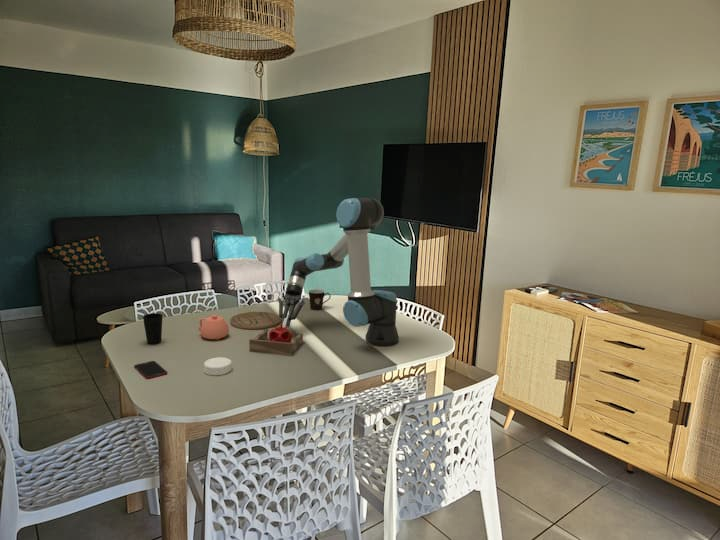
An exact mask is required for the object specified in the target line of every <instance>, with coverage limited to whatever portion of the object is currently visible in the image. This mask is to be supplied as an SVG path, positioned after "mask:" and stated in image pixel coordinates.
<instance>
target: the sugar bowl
mask: <svg viewBox="0 0 720 540" xmlns="http://www.w3.org/2000/svg"><path fill="white" fill-rule="evenodd" d="M198 321H199V322H198V323H199V327H198V329H197V330H198V331H199V332H200V335H201V336H202V337H203V338H204V339H205V340H215V341H218V340H221V339H223V338H225V337H227V335H228V334H229V332H230V329H229V325H228V323H227V321H226V320H225V319H224V317H223V316H218V314H212V315H211V316H208V317H202V318H200V319H199V320H198ZM202 321H204V322H202Z"/></svg>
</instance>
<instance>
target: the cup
mask: <svg viewBox="0 0 720 540" xmlns="http://www.w3.org/2000/svg"><path fill="white" fill-rule="evenodd" d="M142 319H143V324H144V325H143V326H144V331H145V337H146V343H147V345H152V346H154V345H159V344H161V343H162V332H163V314H162V313H157V312H155V313H154V312H152V313H147V314H145V315H142Z"/></svg>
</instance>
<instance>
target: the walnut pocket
mask: <svg viewBox="0 0 720 540" xmlns="http://www.w3.org/2000/svg"><path fill="white" fill-rule="evenodd" d="M303 336H304V335H303V333H300V332H299V333H298V334H297V335H296V336H295V337H294V339H292V340H291V341H290V343H287V342H277V341H270V340H268V329H263V331H261V332H260V333H258V335H256V336H255V337H254V338H250V339H248V341H249V343H248V344H249V345H248V346H249V347H248V348H249V352H253V353H260V354H261V353H263V354H270V355H281V356H290V357H291V356H292V355H293V354H294V352H295V351H297V349H298V348H299V347H300V346H301V345H302V343H303V341H304V339H303V338H304V337H303Z"/></svg>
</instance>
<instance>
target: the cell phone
mask: <svg viewBox="0 0 720 540" xmlns="http://www.w3.org/2000/svg"><path fill="white" fill-rule="evenodd" d="M133 367H134V369H135V370H136V371H137V372H138V373H139V374H140V375H141V376H142V377H143V378H144V379H145V380H151V379H155V378H158V377H163V376H167V375H169V374H168V371H167V370H166V369H165V368H163V367H162V366H161V365H160V364H159V363H157V362H156V361H154V360H150V361H145V362H142V363H137V364H134V365H133Z"/></svg>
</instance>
